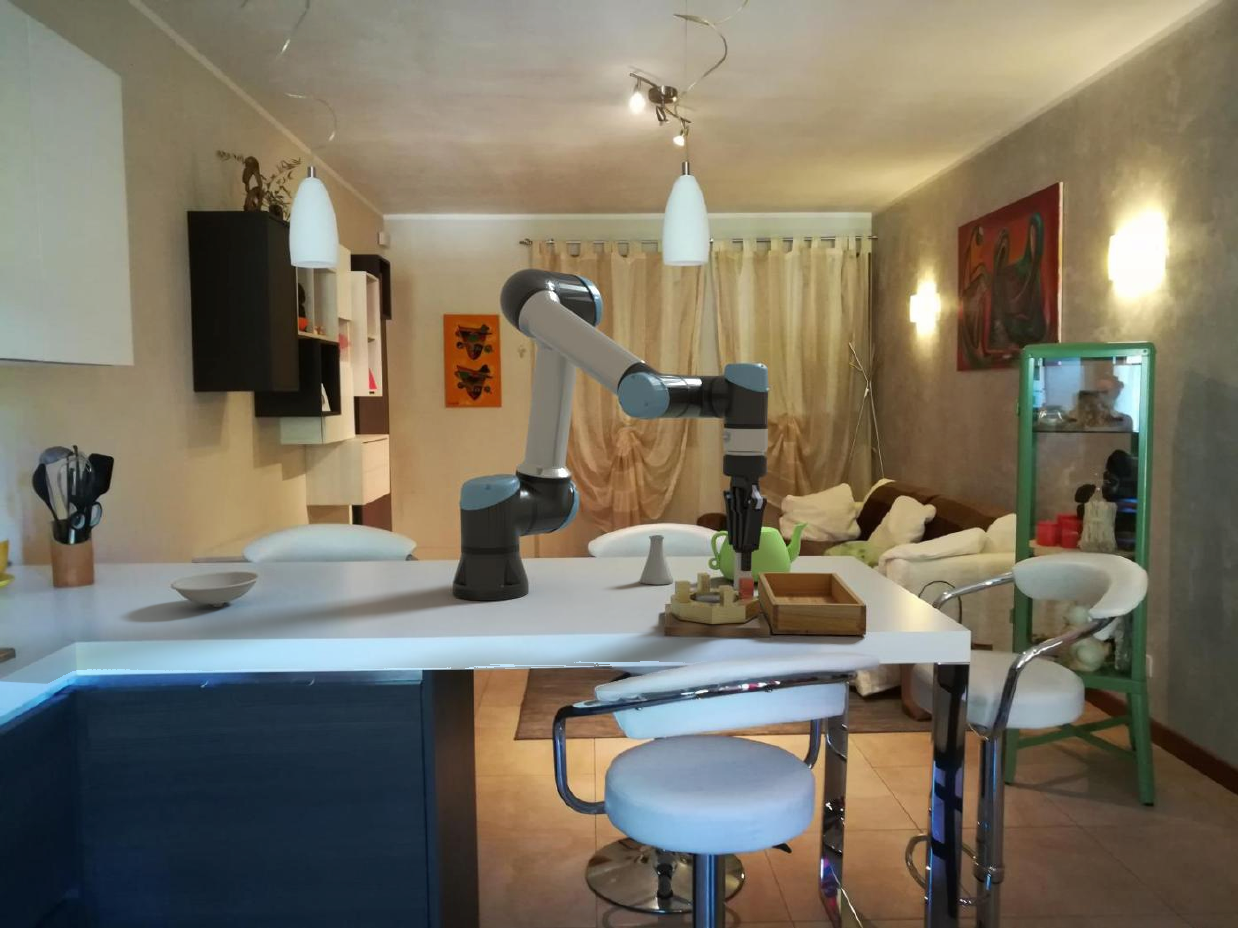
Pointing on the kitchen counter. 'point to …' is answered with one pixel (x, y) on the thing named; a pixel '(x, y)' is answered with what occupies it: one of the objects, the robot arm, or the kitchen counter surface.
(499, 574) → the robot arm
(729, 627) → the walnut base
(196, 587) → the dish
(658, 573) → the flask
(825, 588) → the tray
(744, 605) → the ring nut
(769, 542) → the teapot
